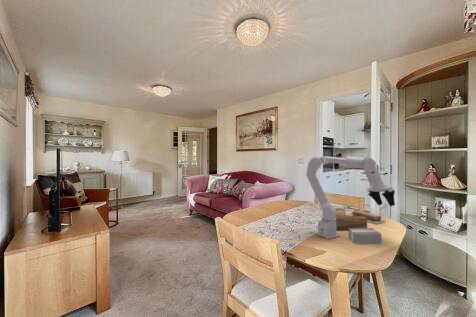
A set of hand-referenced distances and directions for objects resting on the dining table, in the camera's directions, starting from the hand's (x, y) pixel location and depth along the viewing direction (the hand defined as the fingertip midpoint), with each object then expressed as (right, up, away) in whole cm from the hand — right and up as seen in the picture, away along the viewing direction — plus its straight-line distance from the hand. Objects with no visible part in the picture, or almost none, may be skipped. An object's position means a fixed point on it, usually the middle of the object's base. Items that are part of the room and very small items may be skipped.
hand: (386, 205), depth 106 cm
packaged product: (+11, -18, +34) cm, 40 cm away
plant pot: (-6, -18, +36) cm, 40 cm away
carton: (-10, -19, +1) cm, 21 cm away
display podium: (-9, -18, +18) cm, 27 cm away
